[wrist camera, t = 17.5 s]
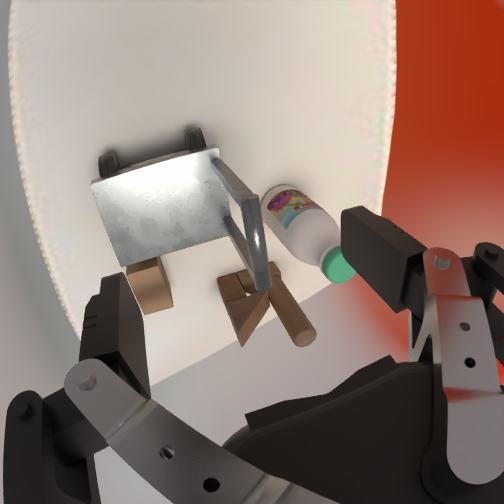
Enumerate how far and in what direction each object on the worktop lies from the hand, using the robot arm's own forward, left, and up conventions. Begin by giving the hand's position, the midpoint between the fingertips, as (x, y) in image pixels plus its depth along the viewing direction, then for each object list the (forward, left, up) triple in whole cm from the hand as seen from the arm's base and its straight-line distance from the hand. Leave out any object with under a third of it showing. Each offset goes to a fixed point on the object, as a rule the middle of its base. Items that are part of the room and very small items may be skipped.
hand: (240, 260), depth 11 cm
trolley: (+9, -3, -37) cm, 38 cm away
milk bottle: (+17, +15, -37) cm, 43 cm away
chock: (+22, -9, -37) cm, 44 cm away
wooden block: (+29, +7, -37) cm, 47 cm away
